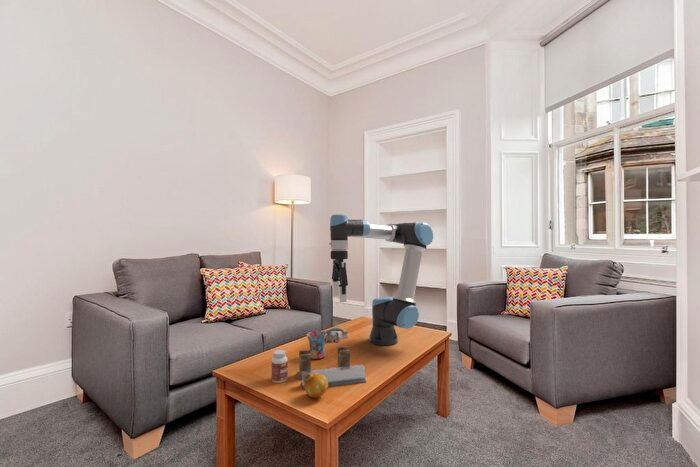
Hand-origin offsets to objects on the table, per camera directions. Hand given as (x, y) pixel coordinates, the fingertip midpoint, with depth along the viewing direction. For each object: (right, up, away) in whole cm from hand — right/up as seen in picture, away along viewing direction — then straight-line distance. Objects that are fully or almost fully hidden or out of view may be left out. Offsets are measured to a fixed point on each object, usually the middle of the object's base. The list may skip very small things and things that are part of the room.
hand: (339, 299), depth 144 cm
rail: (-2, -28, -17) cm, 33 cm away
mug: (-10, -29, +11) cm, 32 cm away
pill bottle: (-23, -29, -14) cm, 40 cm away
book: (-5, -29, +36) cm, 46 cm away
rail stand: (-6, -29, -9) cm, 31 cm away
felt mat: (-2, -29, -17) cm, 33 cm away
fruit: (-7, -29, -28) cm, 41 cm away
